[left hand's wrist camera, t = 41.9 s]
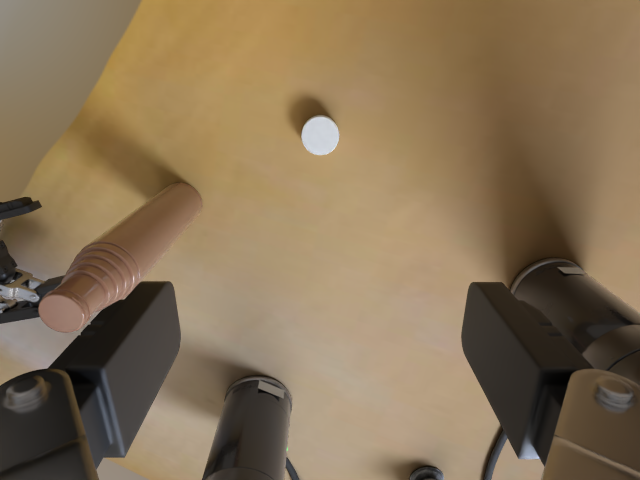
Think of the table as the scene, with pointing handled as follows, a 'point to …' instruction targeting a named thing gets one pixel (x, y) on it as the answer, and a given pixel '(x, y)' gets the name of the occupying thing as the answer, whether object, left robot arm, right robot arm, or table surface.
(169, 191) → the bottle
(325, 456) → the table surface
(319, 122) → the cap
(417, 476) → the salt shaker
